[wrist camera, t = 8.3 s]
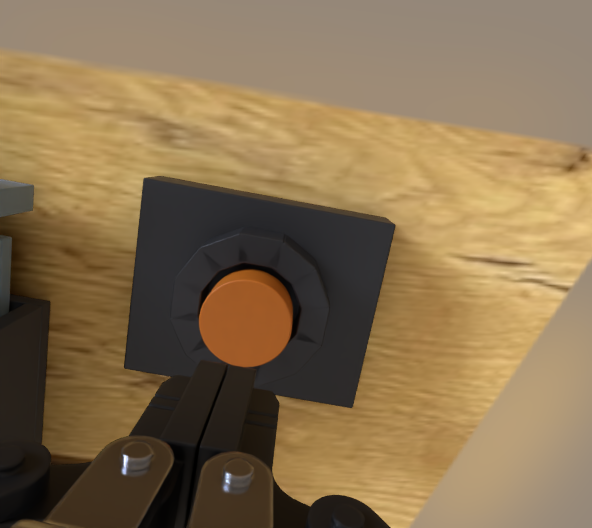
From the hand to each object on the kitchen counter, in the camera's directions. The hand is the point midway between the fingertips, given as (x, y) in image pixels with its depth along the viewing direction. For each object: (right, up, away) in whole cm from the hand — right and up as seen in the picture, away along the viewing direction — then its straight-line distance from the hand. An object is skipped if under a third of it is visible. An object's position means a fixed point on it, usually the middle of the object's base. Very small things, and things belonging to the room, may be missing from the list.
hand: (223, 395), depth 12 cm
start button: (0, +2, +7) cm, 7 cm away
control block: (0, +2, +11) cm, 11 cm away
